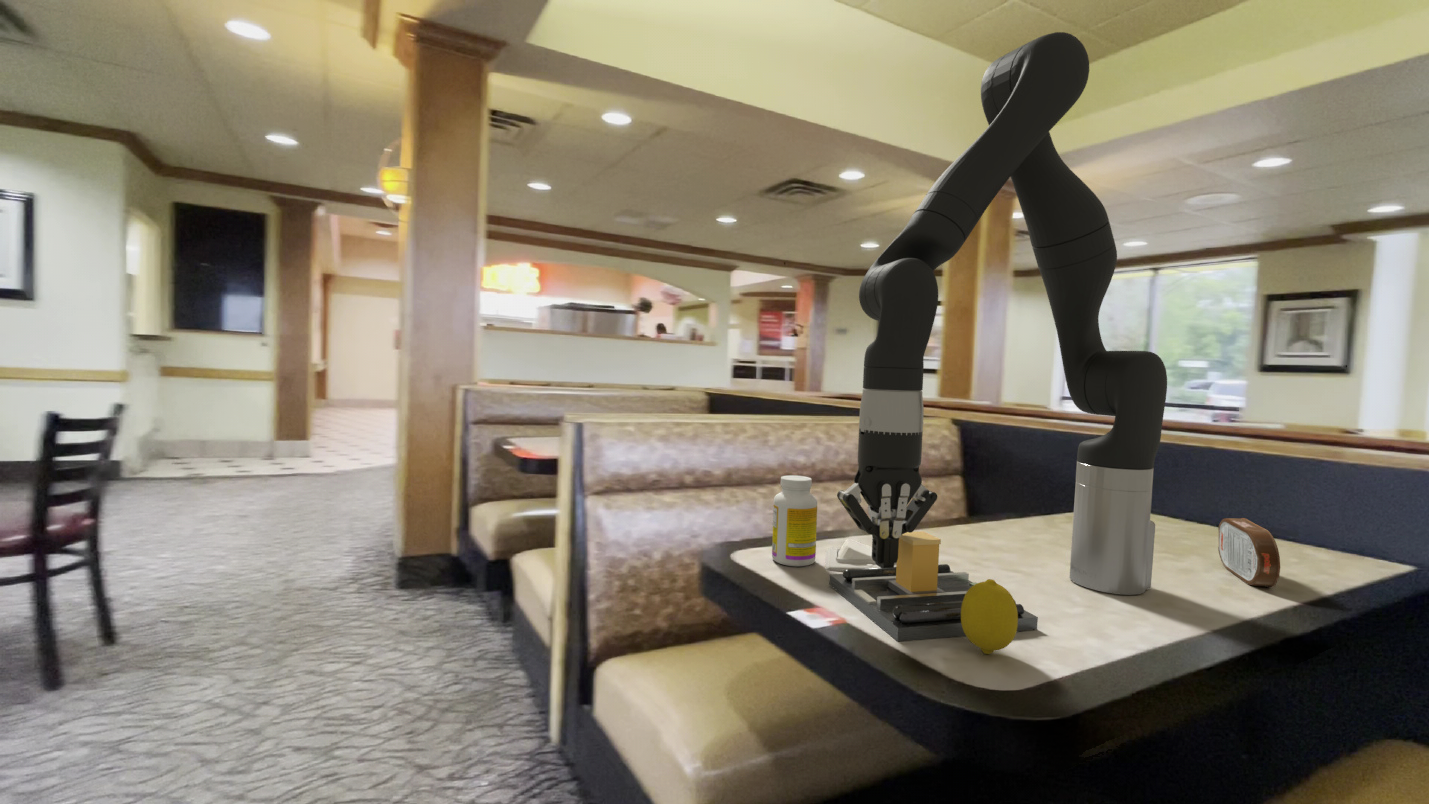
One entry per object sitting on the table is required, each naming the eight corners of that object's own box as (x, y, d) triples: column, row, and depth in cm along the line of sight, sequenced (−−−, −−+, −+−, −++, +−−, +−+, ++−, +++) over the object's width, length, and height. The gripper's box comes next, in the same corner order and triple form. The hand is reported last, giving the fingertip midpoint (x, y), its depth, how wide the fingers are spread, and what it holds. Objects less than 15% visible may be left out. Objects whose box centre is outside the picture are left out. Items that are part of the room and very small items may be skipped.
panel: (945, 578, 91) (946, 558, 91) (1036, 629, 74) (1038, 605, 74) (829, 585, 87) (830, 564, 87) (897, 641, 70) (898, 615, 69)
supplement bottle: (824, 562, 97) (827, 479, 97) (796, 570, 93) (799, 483, 92) (790, 552, 102) (793, 472, 101) (762, 559, 98) (765, 476, 97)
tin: (1280, 595, 89) (1285, 536, 88) (1252, 592, 90) (1257, 533, 89) (1235, 565, 103) (1239, 513, 102) (1212, 562, 104) (1215, 511, 103)
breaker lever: (922, 584, 83) (925, 530, 83) (944, 598, 78) (947, 540, 78) (888, 586, 82) (890, 531, 81) (908, 600, 77) (910, 541, 77)
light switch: (825, 532, 104) (906, 533, 102) (825, 557, 104) (907, 559, 102) (824, 551, 94) (914, 553, 91) (824, 579, 94) (915, 581, 91)
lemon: (1026, 666, 65) (1031, 588, 64) (974, 666, 64) (978, 588, 64) (998, 642, 70) (1002, 571, 70) (949, 642, 70) (953, 570, 69)
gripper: (921, 424, 83) (915, 555, 84) (827, 423, 80) (822, 559, 81) (956, 430, 76) (949, 573, 77) (854, 429, 73) (848, 579, 74)
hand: (884, 566), depth 79 cm, fingers closed
